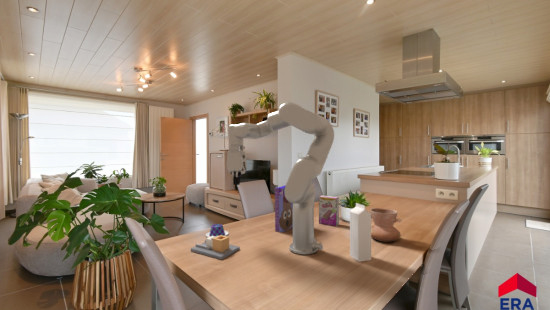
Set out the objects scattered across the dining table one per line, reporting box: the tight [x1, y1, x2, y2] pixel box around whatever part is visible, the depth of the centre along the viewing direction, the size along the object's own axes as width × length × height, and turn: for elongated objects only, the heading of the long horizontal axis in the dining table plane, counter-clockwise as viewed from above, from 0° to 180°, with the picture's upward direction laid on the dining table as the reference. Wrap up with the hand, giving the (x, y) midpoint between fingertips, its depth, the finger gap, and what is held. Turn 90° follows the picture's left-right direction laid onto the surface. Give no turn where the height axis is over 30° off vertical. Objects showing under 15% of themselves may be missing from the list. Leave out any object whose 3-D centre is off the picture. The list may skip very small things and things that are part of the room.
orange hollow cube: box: [213, 235, 230, 252], centre depth 109 cm, size 5×5×5 cm
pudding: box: [205, 223, 230, 238], centre depth 132 cm, size 12×12×5 cm
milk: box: [349, 202, 372, 263], centre depth 101 cm, size 6×6×22 cm
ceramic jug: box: [370, 207, 403, 243], centre depth 123 cm, size 18×14×14 cm
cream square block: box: [205, 236, 217, 249], centre depth 112 cm, size 4×4×5 cm
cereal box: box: [274, 184, 293, 234], centre depth 142 cm, size 17×5×24 cm, turn 148°
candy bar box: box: [318, 195, 340, 227], centre depth 148 cm, size 11×5×16 cm, turn 58°
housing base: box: [190, 239, 241, 260], centre depth 111 cm, size 18×12×5 cm, turn 60°
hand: (236, 184), depth 127 cm, fingers closed
